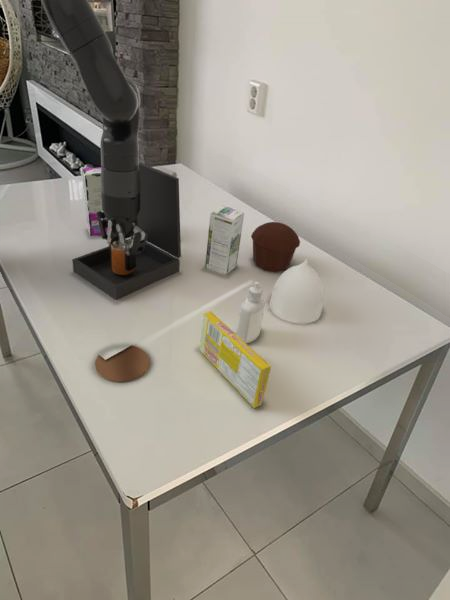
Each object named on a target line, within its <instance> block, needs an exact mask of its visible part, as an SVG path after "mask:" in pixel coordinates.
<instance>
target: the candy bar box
mask: <svg viewBox="0 0 450 600" xmlns="http://www.w3.org/2000/svg"><path fill="white" fill-rule="evenodd" d="M81 172H82V173H81V175H82V182H83V183H82V184H83V194H84V205H85V206H84V207H85V215H86V225H87V226H86V227H87V231H88V234H89V236H90V237H94V236H101V231H100V227H99V222H98V217H97V212H99V211H103V210H102V197H101V166H100V167H99V166H98V167H85V168H84V167H83V168H81ZM107 229H108V227H106V228H105V231H106V233H107Z"/></svg>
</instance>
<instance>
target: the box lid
mask: <svg viewBox="0 0 450 600" xmlns="http://www.w3.org/2000/svg"><path fill="white" fill-rule="evenodd" d="M139 173H140V212H139V213H138V215H137V222H138V227H139V228H140V229H141V230H142V231H143V230H147V231H148V237H147V241H146V242H148V243H150V244H152V245H153V246H155V247H157V248H159V249H161V250H163V251H164V252H166V253H168V254H170V255H172V256H174V257H175V258H177V259H181V258H182V245H181V242H182V241H181V211H180V209H181V207H180V179H179V178H178V174H177V172H176V171H173V170H171V169H168V168H166V167H164V166H160V165H157V166H156V167H153V166H150V165H148V164H146V163H142V162H140V161H139Z"/></svg>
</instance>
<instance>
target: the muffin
mask: <svg viewBox="0 0 450 600" xmlns="http://www.w3.org/2000/svg"><path fill="white" fill-rule="evenodd" d="M251 239H252V260H253V262H254V264H255V266H256V267H257V268H259V269H262V270H263V271H264V272H273V273H278V272H285V271H286V270H287V269H288V268H289V266H290V264H291V263H292V260H293V257H294V254H295V252H296V249H297V248H299V247H300V244H301V240H300V238H299V235H298V234H297V232H296V231H295V230H294V229H293V228H292V227H291V226H289V225H287V224H285V223H282V222H278V221H268V222H265V223H262V224H261V225H258V226H257V227H256V228H255V229H254V230H253V232H252V233H251Z"/></svg>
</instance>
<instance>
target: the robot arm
mask: <svg viewBox="0 0 450 600" xmlns="http://www.w3.org/2000/svg"><path fill="white" fill-rule="evenodd" d="M40 2H41V5H42V7H43V10H44V12H45V15H46V17H47V18H48V21H49V22H50V25H51V27H52V29H53V30H54V32H55V34H56V35H57V37H58V39H59V41H60V42H61V44H62V45H63V47H64V49H65V50H66V52H67V54H68V55H69V57H70V59H71V61H72V62H73V63H74V65H75V67H76V68H77V70H78V73H79V75H80V78H81V80H82V82H83V85H84V87H85V89H86V92H87V93H88V95H89V98H90V100H91V101H92V103H93V105H94V107H95V109H96V110H97V111H98V113H99V114H100V115H101V116H102V134H101V137H100V146H99V147H100V167H101V197H102V210H103V211H99V212H97V217H98V222H99V227H100V231H101V235H100V237H101V238H102V239H103V240H106V244H107V245H108V246H109V255H110V260H112V257H111V244H112V243H113V242H114V241H117V240H120V241H121V244H122V245H124V249H125V253H126V254H125V269H127V270H128V271H129V270H132V269H134V268H135V267H136V255H139V254H142V253H144V249H145V245H146V242H147V237H148V231H147V230H143V231H142V230H141V229H140V228H139V227H138V222H137V215H138V213H139V212H140V173H139V162H140V146H139V128H140V112H141V95H140V90H139V87H138V85H137V84H136V82H135V81H134V80H133V79H132V78H131V77H130V76H128V75H126V74H124V72H123V71H122V69H121V67H120V65H119V64H118V62H117V59H116V57H115V56H114V51H113V46H112V43H111V41H110V38H109V37H108V34H107V33H106V30H105V29H104V27H103V25H102V24H101V21H100V20H99V18H98V15H97V14H96V12H95V11H94V9H93V6H92V5H91V4H90V1H89V0H40ZM106 227H108V229H107V233H106V231H105V228H106ZM129 244H132V248H131V249H130V248H129Z"/></svg>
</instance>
